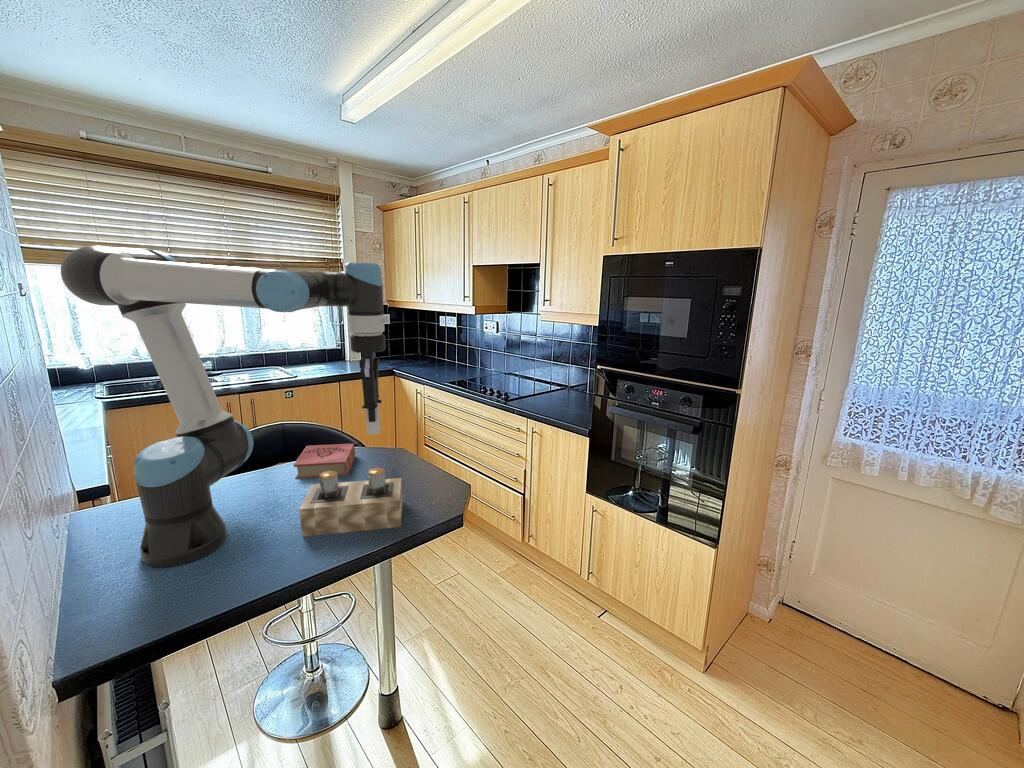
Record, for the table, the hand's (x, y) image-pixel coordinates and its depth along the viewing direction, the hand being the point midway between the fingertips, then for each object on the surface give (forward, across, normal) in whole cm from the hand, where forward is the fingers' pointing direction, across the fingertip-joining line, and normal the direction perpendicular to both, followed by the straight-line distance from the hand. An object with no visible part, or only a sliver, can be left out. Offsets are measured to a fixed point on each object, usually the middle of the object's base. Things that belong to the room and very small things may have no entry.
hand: (373, 431), depth 103 cm
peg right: (+17, 0, 0) cm, 17 cm away
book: (+23, +32, +18) cm, 43 cm away
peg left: (+17, 0, +11) cm, 20 cm away
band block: (+22, 0, +6) cm, 23 cm away
